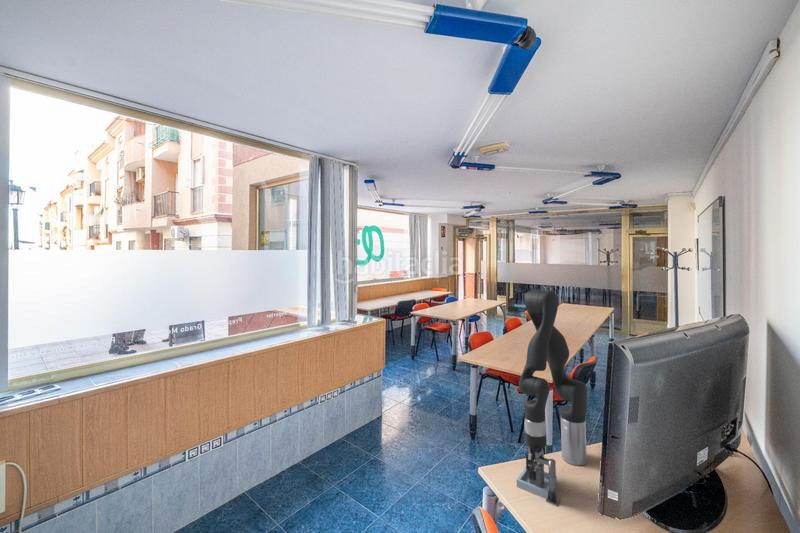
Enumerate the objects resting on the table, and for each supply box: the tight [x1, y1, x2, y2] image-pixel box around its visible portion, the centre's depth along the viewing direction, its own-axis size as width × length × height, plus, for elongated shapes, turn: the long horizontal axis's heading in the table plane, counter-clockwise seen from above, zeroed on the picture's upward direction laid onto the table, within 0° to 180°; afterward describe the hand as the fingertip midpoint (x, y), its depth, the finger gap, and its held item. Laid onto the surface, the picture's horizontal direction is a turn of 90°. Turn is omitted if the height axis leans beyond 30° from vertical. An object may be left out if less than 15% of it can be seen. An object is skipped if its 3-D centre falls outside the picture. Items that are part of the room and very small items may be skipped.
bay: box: [516, 466, 558, 500], centre depth 123 cm, size 11×11×2 cm
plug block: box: [530, 460, 545, 488], centre depth 123 cm, size 4×4×9 cm
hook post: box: [535, 450, 561, 507], centre depth 115 cm, size 4×7×15 cm, turn 50°
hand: (536, 473), depth 123 cm, fingers open, 8 cm apart
